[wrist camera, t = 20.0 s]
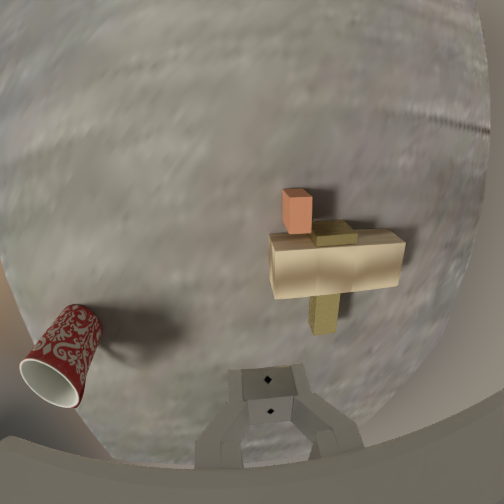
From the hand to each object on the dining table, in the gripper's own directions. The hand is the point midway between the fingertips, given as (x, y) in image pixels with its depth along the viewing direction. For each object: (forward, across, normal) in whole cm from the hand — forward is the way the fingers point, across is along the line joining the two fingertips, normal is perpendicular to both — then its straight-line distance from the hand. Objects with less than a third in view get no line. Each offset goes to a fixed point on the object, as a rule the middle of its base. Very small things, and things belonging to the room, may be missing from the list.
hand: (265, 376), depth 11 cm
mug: (+25, +26, +18) cm, 40 cm away
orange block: (+25, -6, +1) cm, 26 cm away
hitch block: (+25, -11, +7) cm, 28 cm away
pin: (+25, -10, +11) cm, 29 cm away
